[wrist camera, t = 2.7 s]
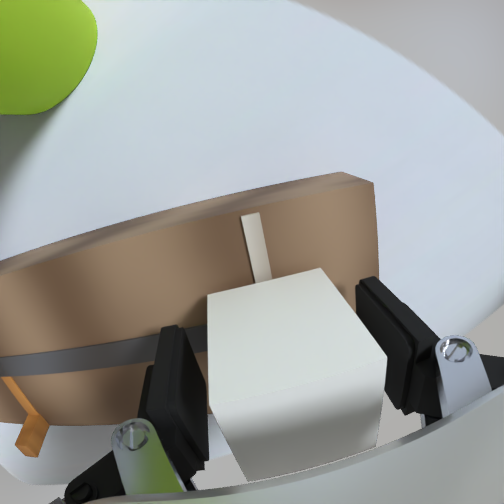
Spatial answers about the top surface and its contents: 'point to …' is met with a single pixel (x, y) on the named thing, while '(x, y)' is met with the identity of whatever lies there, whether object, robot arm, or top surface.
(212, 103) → the top surface
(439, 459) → the robot arm
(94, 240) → the fader console
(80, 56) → the soap dispenser
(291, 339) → the fader knob
